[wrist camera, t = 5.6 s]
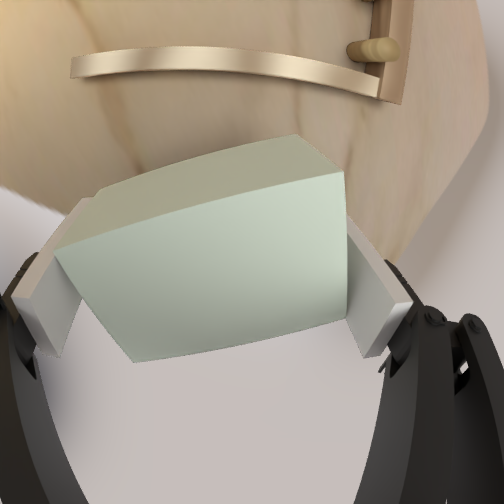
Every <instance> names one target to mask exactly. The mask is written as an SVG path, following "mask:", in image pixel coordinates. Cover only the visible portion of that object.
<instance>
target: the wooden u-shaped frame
mask: <svg viewBox="0 0 504 504" xmlns="http://www.w3.org/2000/svg"><path fill="white" fill-rule="evenodd" d="M362 1H365V2H369V1H371V0H362ZM413 7H414V0H374V4H373V15H372V24H371V33H370V39H369V40H363V41H357V42H352V43H350V44H349V45H348V47H347V54H348V56H349V58H350V59H351V60H353V61H355V62H367V63H366V70H365V73H362V72H358V71H355V70H351V69H348V68H344V67H340V66H337V65H333V64H329V63H324V62H320V61H315V60H311V59H306V58H301V57H296V56H290V55H284V54H278V53H271V52H264V51H256V50H246V49H236V48H222V47H197V46H174V47H149V48H136V49H125V50H116V51H108V52H101V53H95V54H89V55H83V56H78V57H73V58H71V75H70V78H84V77H91V76H98V75H106V74H114V73H125V72H137V71H156V70H206V71H225V72H238V73H249V74H258V75H267V76H274V77H281V78H287V79H294V80H299V81H305V82H310V83H315V84H320V85H325V86H329V87H334V88H338V89H342V90H346V91H350V92H354V93H358V94H361V95H365V96H368V97H372V98H375V99H379V100H382V101H386V102H390V103H394V104H398V105H401V102H402V96H403V91H404V85H405V79H406V72H407V66H408V58H409V50H410V42H411V32H412V21H413Z"/></svg>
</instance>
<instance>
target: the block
mask: <svg viewBox="0 0 504 504" xmlns="http://www.w3.org/2000/svg"><path fill="white" fill-rule="evenodd" d="M53 253H54V254H55V256H56V258H57V259H58V261H59V263H60V264H61V266H62V268H63V269H64V271H65V272H66V274H67V275H68V277H69V279H70V280H71V282H72V283H73V285H74V286H75V288H76V289H77V291H78V292H79V294H80V295H81V296H82V298H83V299H84V301H85V302H86V304H87V305H88V306H89V308H90V309H91V310H92V312H93V313H94V315H95V316H96V317H97V319H98V320H99V321H100V322H101V324H102V325H103V326H104V328H105V329H106V330H107V332H108V333H109V334H110V335H111V336H112V338H113V339H114V340H115V342H116V343H117V344H118V345H119V346H120V348H121V349H122V350H123V351H124V352H125V354H126V355H127V356H128V357H129V358H130V359H131V361H132V362H133V363H137V362H144V361H151V360H159V359H166V358H172V357H178V356H185V355H190V354H196V353H202V352H207V351H213V350H218V349H223V348H228V347H233V346H238V345H243V344H247V343H252V342H257V341H261V340H265V339H270V338H274V337H278V336H282V335H286V334H290V333H294V332H298V331H301V330H306V329H309V328H313V327H317V326H320V325H324V324H328V323H331V322H334V321H338V320H341V319H344V318H346V312H347V222H346V200H345V184H344V171H343V170H341V169H340V168H339V167H338V166H337V165H335V164H334V163H333V162H332V161H330V160H329V159H328V158H327V157H326V156H324V155H323V154H322V153H321V152H319V151H318V150H317V149H316V148H314V147H313V146H312V145H310V144H309V143H308V142H307V141H305V140H304V139H303V138H301V137H300V136H299V135H297V134H292V135H287V136H281V137H276V138H272V139H267V140H262V141H258V142H253V143H249V144H244V145H240V146H236V147H232V148H228V149H224V150H220V151H216V152H212V153H209V154H205V155H201V156H198V157H194V158H191V159H187V160H184V161H181V162H177V163H174V164H171V165H168V166H164V167H161V168H158V169H155V170H152V171H149V172H146V173H143V174H140V175H137V176H134V177H131V178H129V179H126V180H123V181H120V182H118V183H115V184H112V185H110V186H107V187H104V188H102V189H100V190H99V191H98V192H97V193H96V195H95V196H94V197H93V198H92V199H91V201H90V202H89V203H88V204H87V205H86V207H85V208H84V209H83V210H82V212H81V213H80V214H79V216H78V217H77V218H76V219H75V221H74V222H73V223H72V225H71V226H70V227H69V229H68V230H67V231H66V233H65V234H64V236H63V237H62V238H61V240H60V241H59V243H58V244H57V245H56V247H55V248H54V250H53Z"/></svg>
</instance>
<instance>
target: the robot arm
mask: <svg viewBox="0 0 504 504" xmlns="http://www.w3.org/2000/svg"><path fill="white" fill-rule="evenodd" d="M92 198H93V197H88V198H82V199H81V200H80V201H79V202H78V204H77V205H76V206H75V207H74V208H73V209H72V211H71V212H70V213H69V214H68V216H67V217H66V218H65V219H64V220H63V222H62V223H61V224H60V225H59V227H58V228H57V229H56V231H55V232H54V233H53V235H52V236H51V237H50V239H49V240H48V241H47V243H46V244H45V245H44V247H43V248H42V249H41V251H40V252H36V253H34V254H33V255H31V256H30V257H29V258H28V259H27V260H26V261H25V262H24V264H23V265H22V267H21V268H20V270H19V271H18V272H17V274H16V277H15V278H13V280H12V281H11V283H10V285H9V286H8V288H7V289H6V291H5V293H4V294H3V296H1V294H0V498H1V501H2V504H89V503H88V501H87V500H86V498H85V496H84V494H83V492H82V490H81V488H80V486H79V484H78V482H77V480H76V478H75V475H74V473H73V471H72V469H71V467H70V464H69V462H68V460H67V457H66V455H65V453H64V450H63V447H62V445H61V442H60V440H59V437H58V434H57V431H56V428H55V425H54V422H53V419H52V416H51V413H50V410H49V406H48V403H47V399H46V396H45V392H44V388H43V384H42V380H41V376H40V371H39V367H38V362H37V359H36V357H35V355H34V353H33V352H34V349H35V346H36V345H37V346H38V348H39V350H40V351H41V353H42V354H43V355H46V356H51V357H57V358H60V357H61V354H62V350H63V347H64V344H65V342H66V339H67V336H68V333H69V331H70V328H71V325H72V323H73V320H74V317H75V315H76V312H77V310H78V307H79V305H80V302H81V300H82V296H81V295H80V294H79V292H78V291H77V289H76V288H75V286H74V285H73V283H72V282H71V280H70V279H69V277H68V275H67V274H66V272H65V271H64V269H63V268H62V266H61V264H60V263H59V261H58V259H57V258H56V256H55V254H54V253H53V250H54V248H55V247H56V245H57V244H58V243H59V241H60V240H61V238H62V237H63V236H64V234H65V233H66V231H67V230H68V229H69V227H70V226H71V225H72V223H73V222H74V221H75V219H76V218H77V217H78V216H79V214H80V213H81V212H82V210H83V209H84V208H85V207H86V205H87V204H88V203H89V202H90V201H91V199H92ZM346 222H347V312H346V318H345V319H346V321H347V323H348V325H349V327H350V330H351V332H352V334H353V336H354V339H355V341H356V343H357V345H358V347H359V349H360V352H361V354H362V356H363V358H369V357H375V356H380V355H381V354H382V352H383V351H384V349H385V348H386V346H387V345H388V347H389V349H390V351H391V353H390V354H389V356H388V357H387V359H386V360H385V361H384V363H383V364H382V366H381V367H380V369H379V371H378V372H379V373H381V372H382V370H383V369H384V368H385V367H386V369H385V373H384V374H385V376H384V382H383V389H382V394H381V401H380V406H379V411H378V416H377V421H376V426H375V430H374V435H373V439H372V443H371V447H370V451H369V455H368V459H367V462H366V466H365V470H364V473H363V476H362V480H361V483H360V486H359V489H358V492H357V495H356V499H355V501H354V504H446V499H447V504H504V369H503V366H502V363H501V361H500V359H499V356H498V353H497V351H496V348H495V346H494V344H493V341H492V339H491V337H490V334H489V332H488V330H487V328H486V326H485V324H484V323H483V321H482V320H481V319H480V318H479V317H477V316H476V315H473V314H470V313H469V314H465V315H464V316H463V317H462V318H461V320H460V321H459V323H457V322H451V321H447V319H446V317H445V316H444V315H443V313H442V312H440V311H439V310H438V309H436V308H434V307H431V306H427V305H426V306H424V305H423V303H422V302H421V301H420V299H419V298H418V296H417V295H416V293H415V292H414V291H413V289H412V288H411V287H410V285H409V284H407V281H406V280H405V279H404V277H402V274H401V273H400V272H399V271H398V269H397V268H396V267H395V266H394V265H393V264H392V263H390V262H389V261H388V260H383V259H382V257H381V256H380V255H379V253H378V252H377V251H376V249H375V248H374V247H373V246H372V244H371V243H370V242H369V240H368V239H367V238H366V237H365V235H364V234H363V233H362V232H361V230H360V229H359V228H358V227H357V225H356V224H355V223H354V222H353V221H352V219H351V218H350V217H349V216H348V215H347V213H346ZM466 361H467V364H468V369H467V370H466V371H465V372H464V373H463V374H462V373H461V371H460V368H461V366H462V365H463V364H464V363H465V362H466Z"/></svg>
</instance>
